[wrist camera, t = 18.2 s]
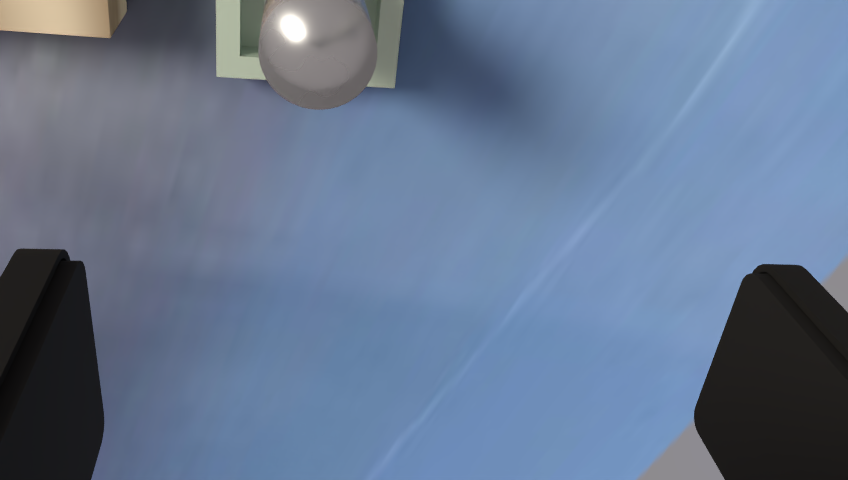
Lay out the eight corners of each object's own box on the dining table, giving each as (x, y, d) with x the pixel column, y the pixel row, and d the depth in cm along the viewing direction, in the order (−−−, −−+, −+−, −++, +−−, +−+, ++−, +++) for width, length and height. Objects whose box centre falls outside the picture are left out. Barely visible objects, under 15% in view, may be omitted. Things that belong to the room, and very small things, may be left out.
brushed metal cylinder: (361, -58, 35) (382, -1, 27) (354, 32, 37) (372, 113, 29) (268, -68, 34) (259, -12, 26) (266, 25, 36) (256, 105, 28)
